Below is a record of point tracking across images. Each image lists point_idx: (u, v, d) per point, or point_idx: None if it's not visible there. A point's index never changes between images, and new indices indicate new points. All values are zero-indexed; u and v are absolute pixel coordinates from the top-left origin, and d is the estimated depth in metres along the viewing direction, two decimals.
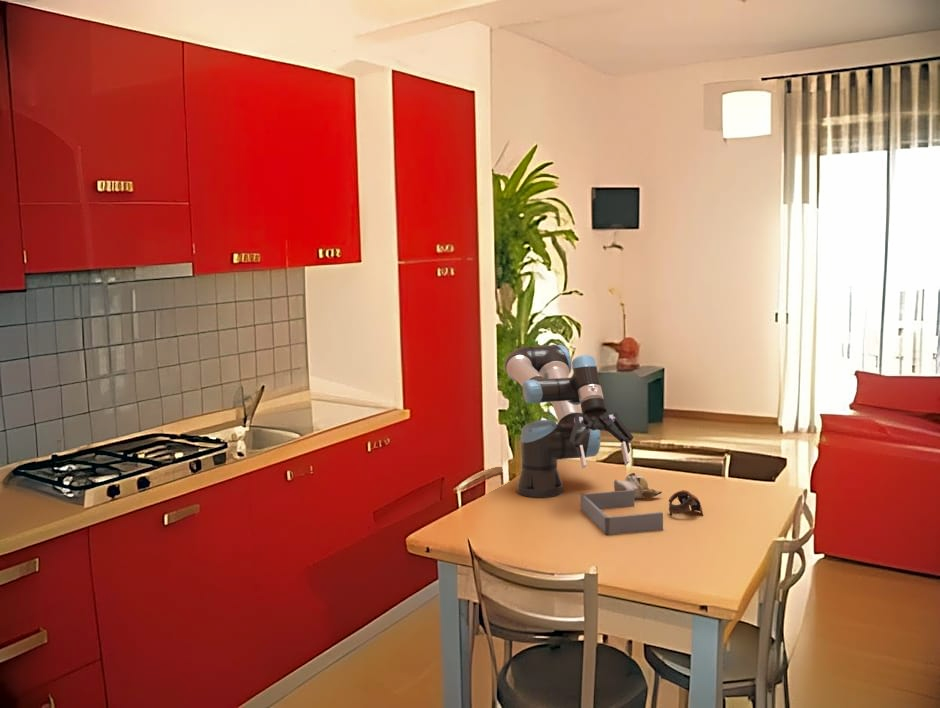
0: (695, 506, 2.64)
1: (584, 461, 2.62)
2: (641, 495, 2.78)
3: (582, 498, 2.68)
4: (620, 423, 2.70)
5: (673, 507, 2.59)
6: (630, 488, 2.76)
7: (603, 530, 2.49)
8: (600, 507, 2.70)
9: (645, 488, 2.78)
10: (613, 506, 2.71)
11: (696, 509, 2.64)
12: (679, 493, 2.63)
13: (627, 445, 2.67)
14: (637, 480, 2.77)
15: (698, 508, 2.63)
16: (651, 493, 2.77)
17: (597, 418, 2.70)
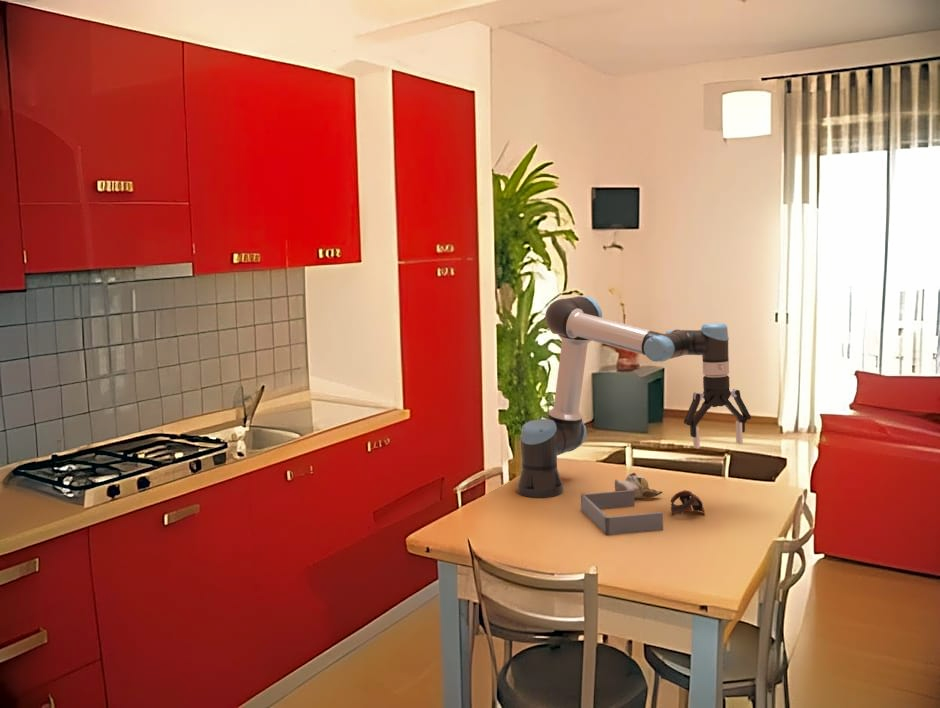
0: (697, 506, 2.64)
1: (698, 444, 2.59)
2: (642, 495, 2.78)
3: (582, 498, 2.68)
4: (741, 402, 2.60)
5: (675, 507, 2.59)
6: (631, 488, 2.76)
7: (603, 530, 2.49)
8: (600, 507, 2.70)
9: (646, 488, 2.78)
10: (613, 506, 2.71)
11: (698, 509, 2.64)
12: (681, 493, 2.63)
13: (743, 425, 2.62)
14: (638, 480, 2.78)
15: (700, 508, 2.63)
16: (652, 493, 2.77)
17: (718, 396, 2.59)
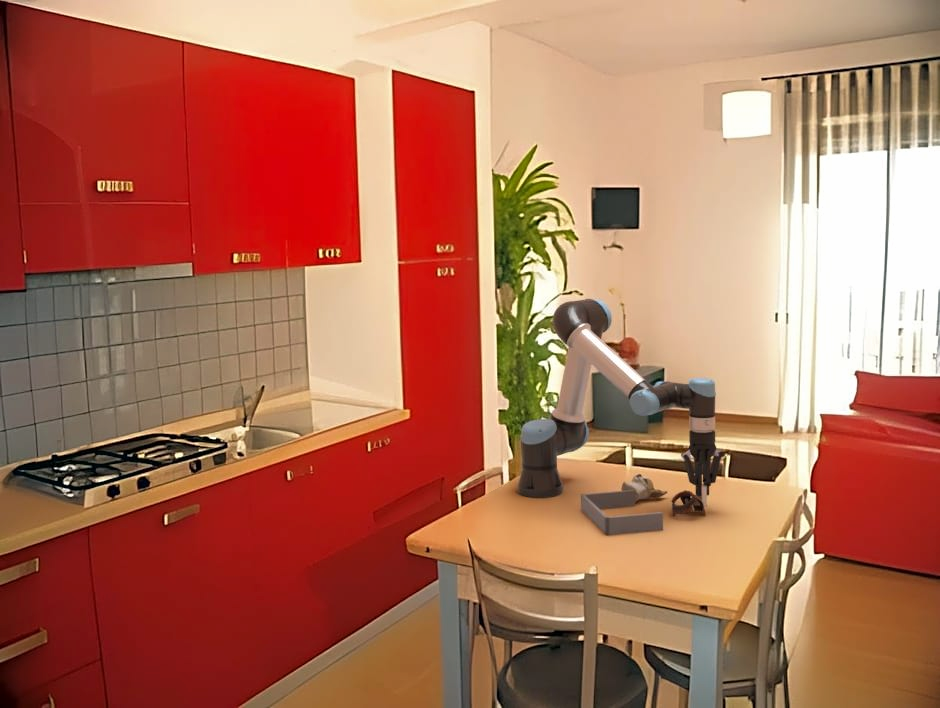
0: (698, 506, 2.63)
1: (703, 503, 2.63)
2: (649, 496, 2.76)
3: (582, 498, 2.68)
4: (717, 463, 2.62)
5: (676, 507, 2.58)
6: (639, 489, 2.74)
7: (603, 530, 2.49)
8: (600, 507, 2.70)
9: (652, 489, 2.77)
10: (613, 506, 2.71)
11: (699, 509, 2.64)
12: (682, 493, 2.62)
13: (707, 489, 2.63)
14: (645, 481, 2.76)
15: (701, 508, 2.62)
16: (659, 493, 2.76)
17: (704, 451, 2.61)
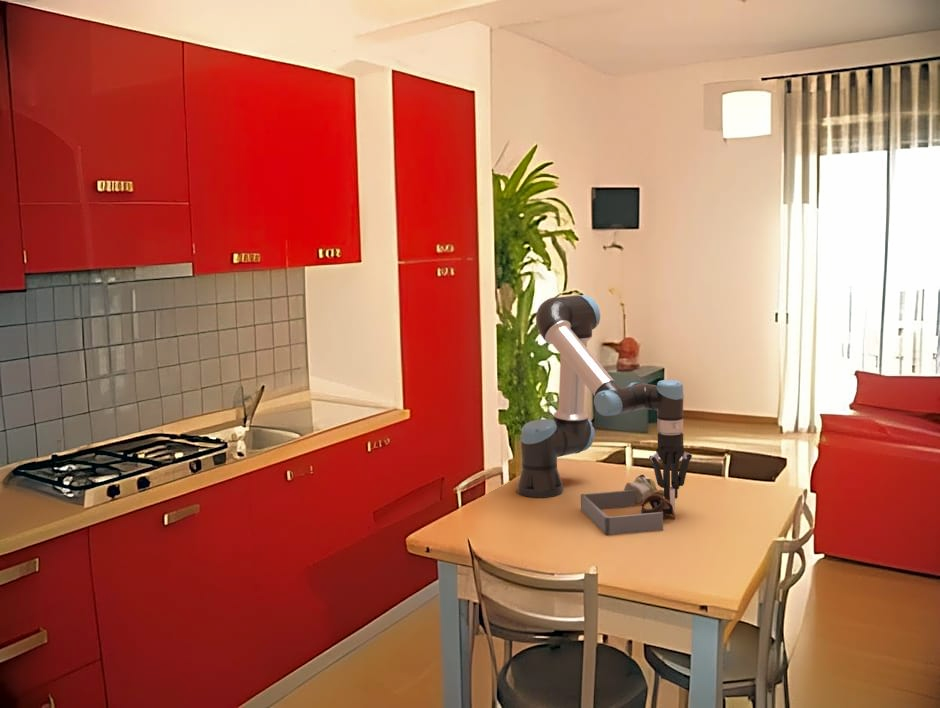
0: (667, 510, 2.61)
1: None
2: None
3: (582, 498, 2.68)
4: (685, 466, 2.60)
5: (646, 511, 2.56)
6: (643, 490, 2.73)
7: (603, 530, 2.49)
8: (600, 507, 2.70)
9: (655, 489, 2.76)
10: (613, 506, 2.71)
11: (668, 513, 2.62)
12: (651, 497, 2.60)
13: (676, 491, 2.61)
14: (648, 481, 2.76)
15: (670, 512, 2.60)
16: (662, 493, 2.76)
17: (672, 453, 2.59)
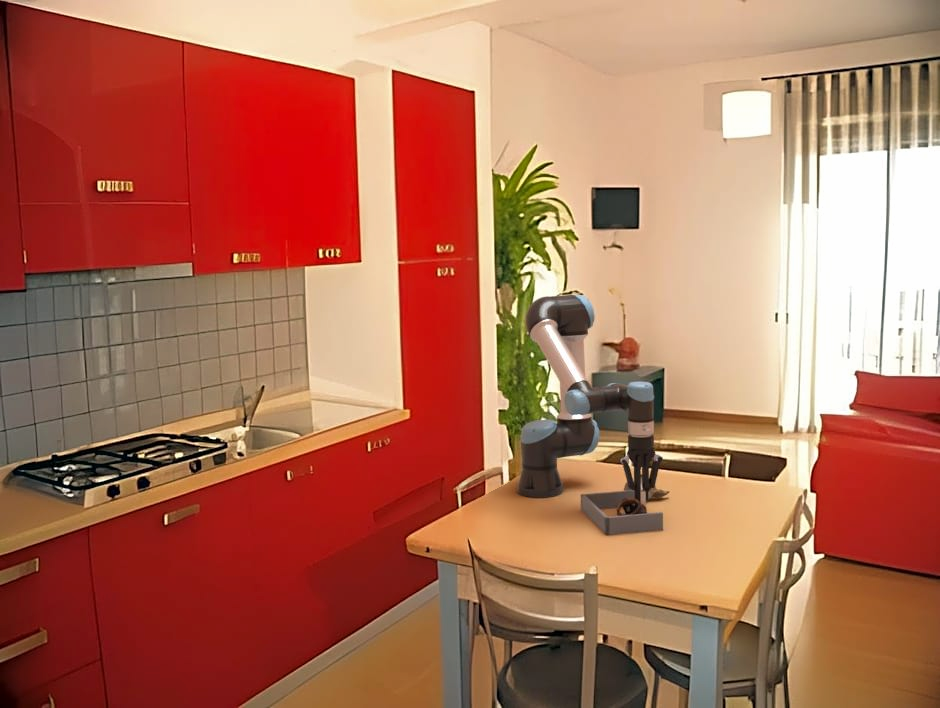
0: (640, 513, 2.59)
1: None
2: (651, 496, 2.76)
3: (582, 498, 2.68)
4: (656, 468, 2.59)
5: None
6: None
7: (603, 530, 2.49)
8: (600, 507, 2.70)
9: (655, 489, 2.77)
10: (613, 506, 2.71)
11: None
12: (625, 501, 2.56)
13: (646, 494, 2.60)
14: None
15: None
16: (661, 493, 2.76)
17: (643, 456, 2.58)
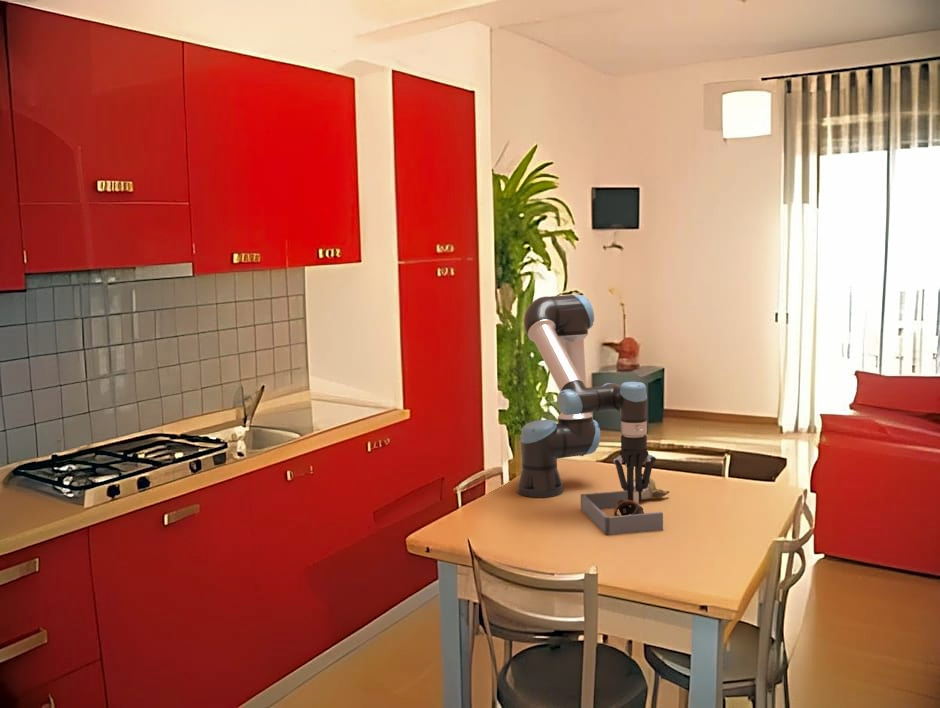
0: None
1: None
2: (651, 496, 2.77)
3: (582, 498, 2.68)
4: (649, 469, 2.58)
5: None
6: None
7: (603, 530, 2.49)
8: (600, 507, 2.70)
9: (654, 488, 2.77)
10: (613, 506, 2.71)
11: None
12: (622, 503, 2.55)
13: (639, 494, 2.59)
14: None
15: None
16: (661, 493, 2.76)
17: (635, 456, 2.57)
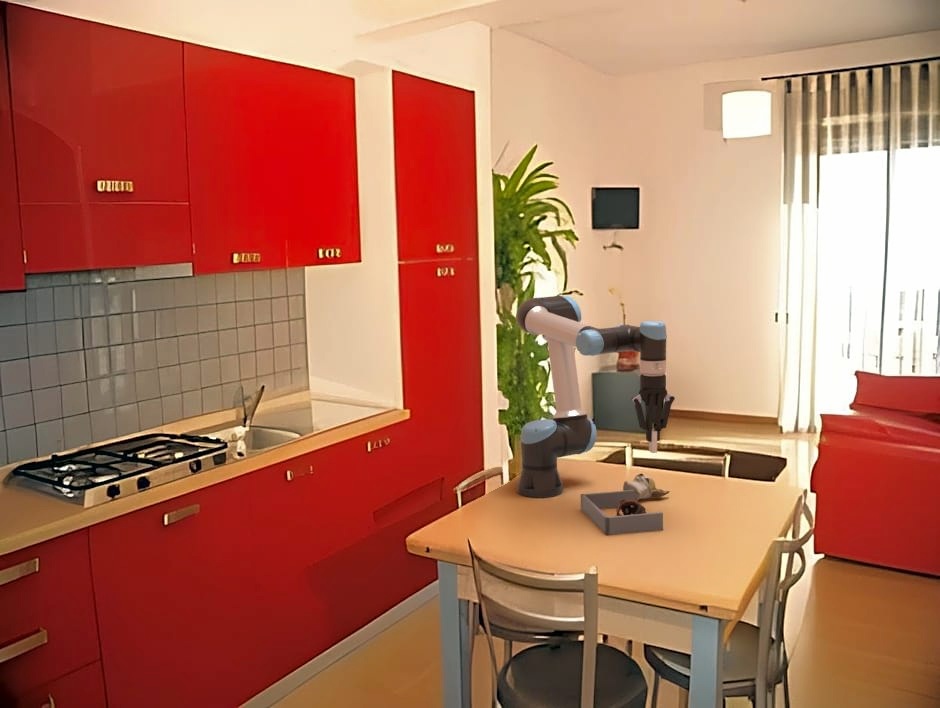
0: None
1: (653, 449, 2.59)
2: (650, 495, 2.77)
3: (582, 498, 2.68)
4: (668, 408, 2.58)
5: None
6: (640, 489, 2.75)
7: (603, 530, 2.49)
8: (600, 507, 2.70)
9: (654, 488, 2.77)
10: (613, 506, 2.71)
11: None
12: (625, 503, 2.55)
13: (658, 434, 2.59)
14: (646, 480, 2.77)
15: None
16: (660, 493, 2.76)
17: (655, 395, 2.57)
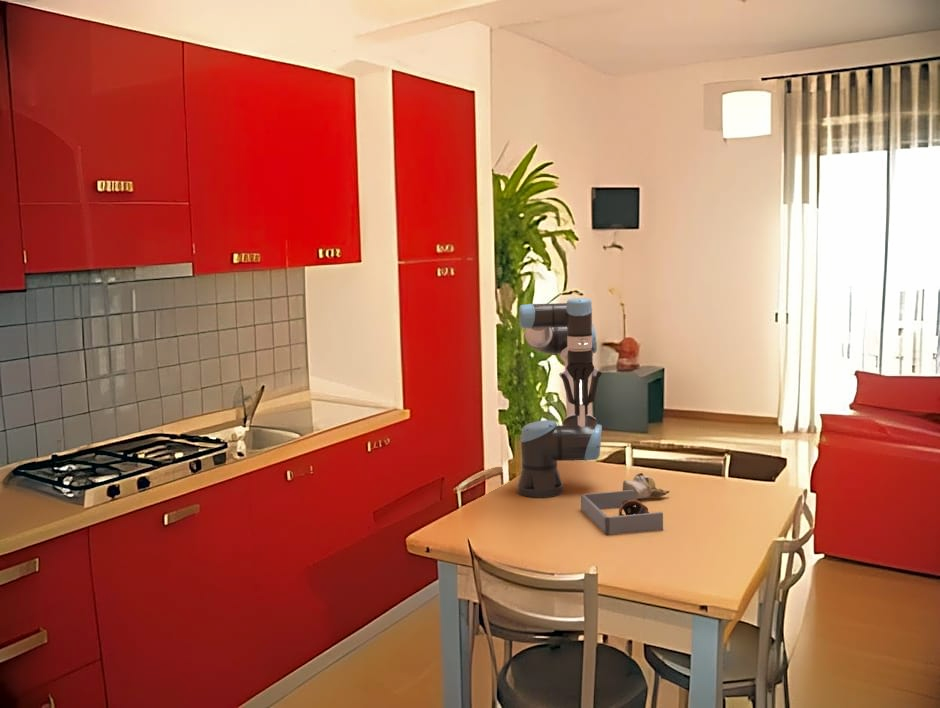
0: None
1: (581, 423, 2.66)
2: (649, 495, 2.77)
3: (582, 498, 2.68)
4: (595, 383, 2.66)
5: None
6: (639, 488, 2.75)
7: (603, 530, 2.49)
8: (600, 507, 2.70)
9: (653, 488, 2.78)
10: (613, 506, 2.71)
11: None
12: (627, 503, 2.55)
13: (586, 408, 2.67)
14: (646, 480, 2.77)
15: None
16: (660, 493, 2.77)
17: (581, 370, 2.65)
